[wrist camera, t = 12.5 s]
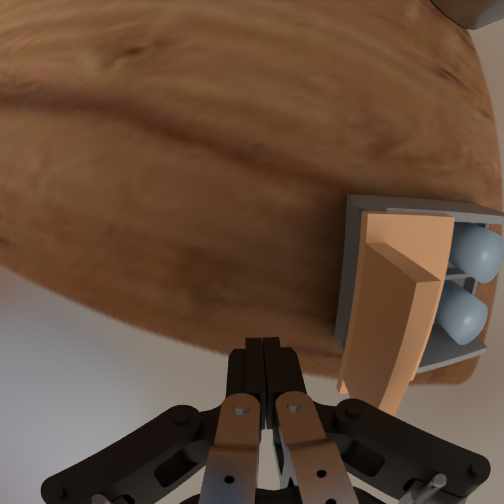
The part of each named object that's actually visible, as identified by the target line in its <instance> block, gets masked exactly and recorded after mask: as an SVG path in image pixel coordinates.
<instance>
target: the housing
mask: <svg viewBox="0 0 504 504" xmlns="http://www.w3.org/2000/svg"><path fill="white" fill-rule="evenodd" d="M362 211H383V212H408V213H428V214H445V215H449V216H452V217H455V220H454V222H470V223H473V224H475V225H478V226H480V227H483V228H485V229H488V227H489V224H502V225H504V212H501V211H498V210H494V209H491V208H488V207H485V206H481V205H478V204H474V203H466V202H457V201H448V200H437V199H426V198H414V197H400V196H384V195H364V194H347V206H346V225H345V241H344V254H343V265H342V275H341V285H340V294H339V302H338V310H337V317H336V324H335V331H334V338H335V340H336V342H337V344H338V347H339V349H340V351H341V353H342V356H343V355H344V350H345V344H346V339H347V334H348V328H349V322H350V316H351V310H352V303H353V296H354V289H355V281H356V273H357V264H358V254H359V244H360V231H361V217H362ZM445 280H452V281H454V282H455V283H457V284H458V285H459V286H461V287H462V288H464V289H465V290H466V291H468V292H469V293H470V294H472V295H473V296H474V295H475V291H476V288H477V284H478V281H477V280H476V279H474V278H473V277H471V276H470V275H468V274H467V273H465V272H464V271H462V270H461V269H459V268H457V267H456V266H454V265H453V264H451V263H449V262H448V265H447V270H446V275H445ZM486 349H487V346H486V345H485V344H484V343H483V342H482V341H480V340H479V339H478V338H477V337H476V338H474V339H473V340H472V341H471V342H469V343H467V344H465V345H459V344H458V343H457V342H456V341H455V340H454V339H453V338H452V337H451V336H450V335H449V334H448V333H447V332H446V331H445V330H444V329H443V328H442V327H441V326H440V325H439V324H438V323H437V322H436V321H435V320H434V322H433V326H432V329H431V332H430V335H429V338H428V341H427V344H426V347H425V350H424V353H423V356H422V358H421V361H420V364H419V366H418V369H417V371H416V374H417V373H421V372H425V371H428V370H432V369H436V368H439V367H443V366H446V365H449V364H453V363H456V362H459V361H462V360H465V359H468V358H471V357H474V356H477V355H480V354H482V353H485V351H486Z"/></svg>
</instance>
